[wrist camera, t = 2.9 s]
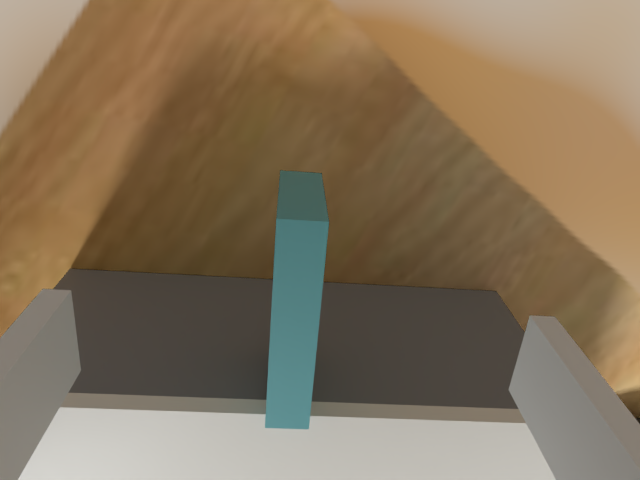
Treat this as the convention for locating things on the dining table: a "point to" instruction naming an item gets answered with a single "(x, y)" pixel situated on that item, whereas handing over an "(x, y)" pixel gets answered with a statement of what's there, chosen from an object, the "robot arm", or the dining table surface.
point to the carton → (254, 338)
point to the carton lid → (284, 406)
